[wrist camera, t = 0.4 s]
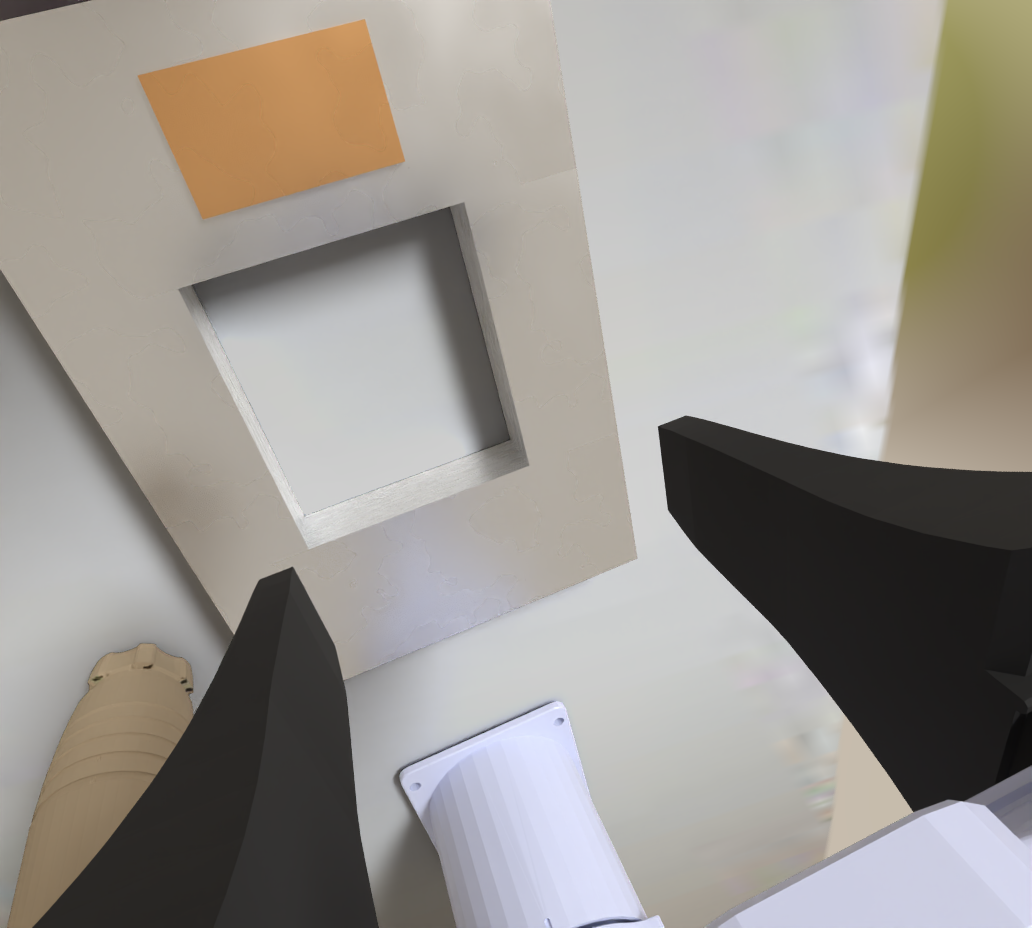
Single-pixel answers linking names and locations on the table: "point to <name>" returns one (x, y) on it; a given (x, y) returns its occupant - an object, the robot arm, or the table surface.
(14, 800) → the table surface
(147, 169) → the rack plate
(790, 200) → the table surface
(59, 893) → the handle
